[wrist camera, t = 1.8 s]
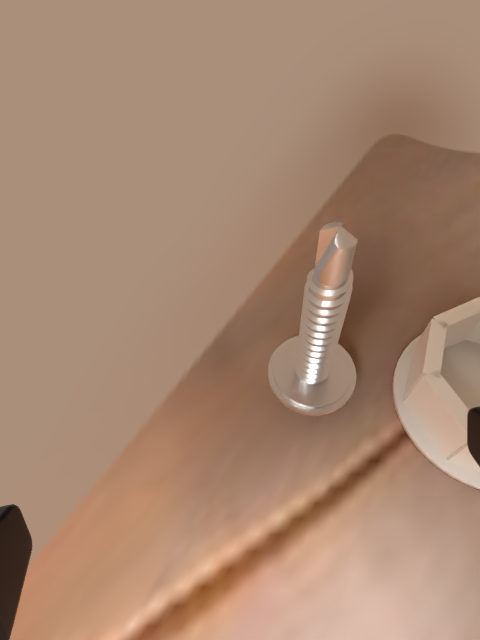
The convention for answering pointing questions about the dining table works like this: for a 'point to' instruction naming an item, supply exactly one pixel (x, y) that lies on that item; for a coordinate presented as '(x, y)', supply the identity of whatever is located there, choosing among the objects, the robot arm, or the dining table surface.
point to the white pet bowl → (442, 390)
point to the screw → (319, 334)
